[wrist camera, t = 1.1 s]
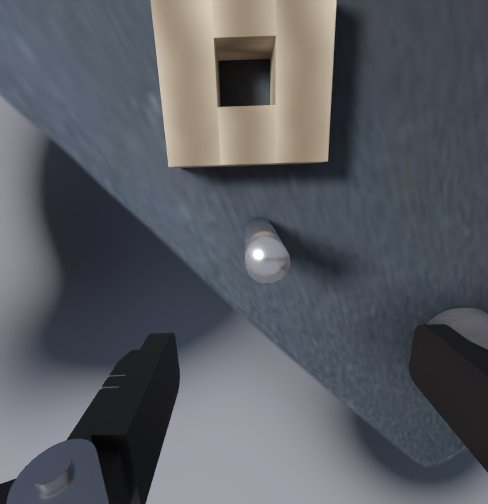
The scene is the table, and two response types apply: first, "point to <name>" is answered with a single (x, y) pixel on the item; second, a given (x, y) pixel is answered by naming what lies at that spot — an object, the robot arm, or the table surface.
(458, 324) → the pillar candle
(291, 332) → the table surface
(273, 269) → the steel pin
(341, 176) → the table surface
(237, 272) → the table surface
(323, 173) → the table surface
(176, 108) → the oak hole block
